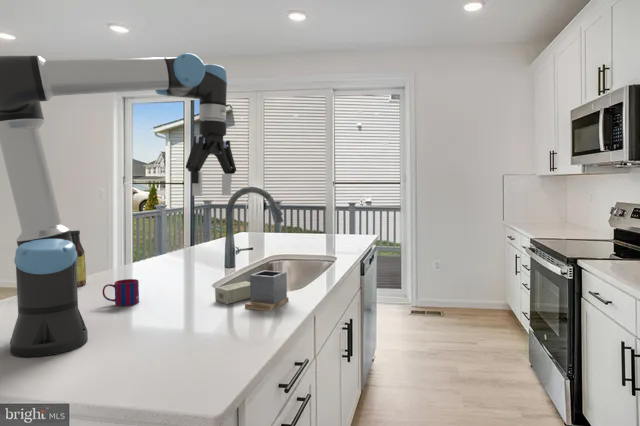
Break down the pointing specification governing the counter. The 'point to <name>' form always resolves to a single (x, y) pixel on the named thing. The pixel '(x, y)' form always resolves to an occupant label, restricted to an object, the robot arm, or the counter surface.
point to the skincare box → (232, 292)
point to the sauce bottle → (79, 258)
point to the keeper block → (264, 305)
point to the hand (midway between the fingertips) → (212, 195)
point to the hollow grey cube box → (268, 287)
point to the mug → (125, 292)
